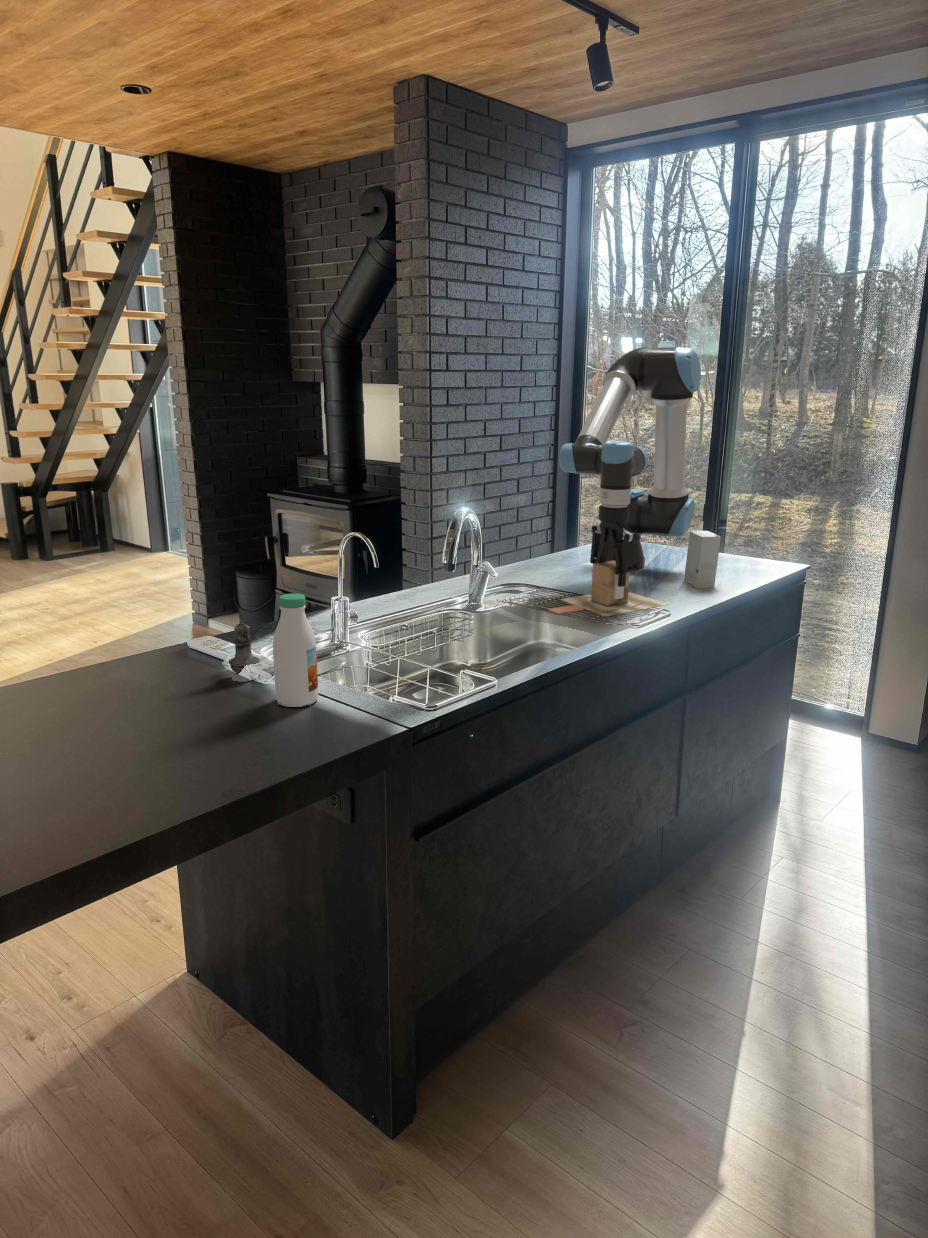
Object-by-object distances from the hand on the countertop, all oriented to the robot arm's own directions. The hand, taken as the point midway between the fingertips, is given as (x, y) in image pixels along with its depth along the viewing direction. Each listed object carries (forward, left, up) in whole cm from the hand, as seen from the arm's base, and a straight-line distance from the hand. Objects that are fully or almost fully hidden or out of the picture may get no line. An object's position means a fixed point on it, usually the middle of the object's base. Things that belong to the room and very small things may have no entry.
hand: (609, 595), depth 221 cm
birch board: (-1, 0, -3) cm, 4 cm away
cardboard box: (0, 0, -2) cm, 2 cm away
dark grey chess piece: (+97, +2, -3) cm, 97 cm away
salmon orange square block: (+16, 0, -3) cm, 16 cm away
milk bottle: (+92, +19, -3) cm, 95 cm away
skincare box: (-39, -5, -3) cm, 39 cm away
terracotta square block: (+12, 0, -3) cm, 13 cm away
